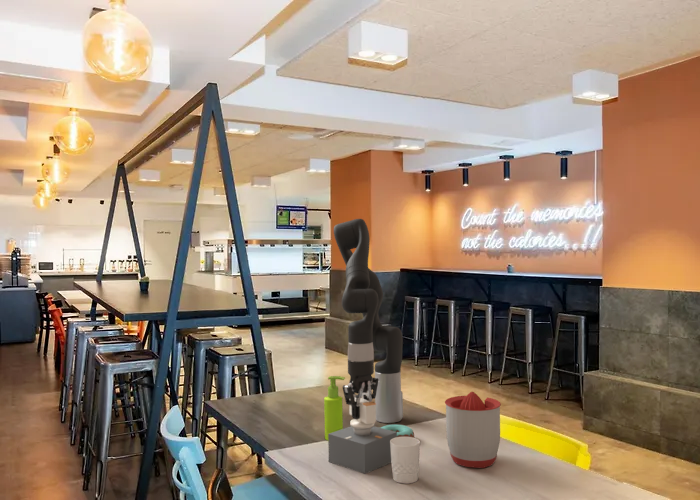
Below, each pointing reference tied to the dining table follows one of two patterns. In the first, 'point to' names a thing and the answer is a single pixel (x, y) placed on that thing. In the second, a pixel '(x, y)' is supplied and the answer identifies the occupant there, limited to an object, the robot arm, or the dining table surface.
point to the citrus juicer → (473, 430)
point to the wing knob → (364, 415)
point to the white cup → (405, 459)
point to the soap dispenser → (333, 408)
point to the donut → (400, 430)
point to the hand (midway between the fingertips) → (361, 416)
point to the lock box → (360, 448)
